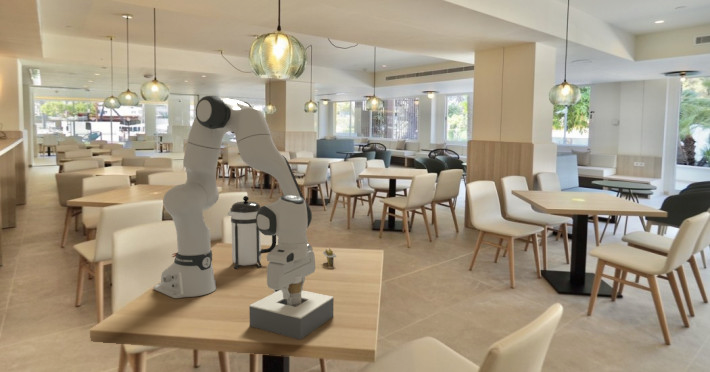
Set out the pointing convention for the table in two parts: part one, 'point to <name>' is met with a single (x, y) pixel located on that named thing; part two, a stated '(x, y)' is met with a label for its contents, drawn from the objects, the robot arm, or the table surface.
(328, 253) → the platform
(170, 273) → the robot arm
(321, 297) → the socket block
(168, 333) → the table surface
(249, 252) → the coffee press
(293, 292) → the sprinkles bottle
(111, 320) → the table surface
